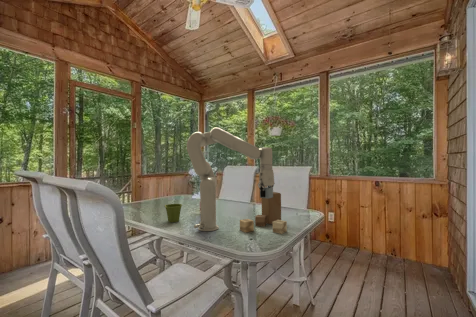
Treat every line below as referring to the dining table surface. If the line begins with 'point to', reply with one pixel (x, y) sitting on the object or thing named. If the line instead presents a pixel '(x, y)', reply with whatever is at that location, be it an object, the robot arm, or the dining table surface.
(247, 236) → the dining table surface
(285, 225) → the cube maple
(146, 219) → the dining table surface
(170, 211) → the plant pot
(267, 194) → the cube slate
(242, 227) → the cube oak
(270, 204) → the block
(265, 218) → the cube walnut
